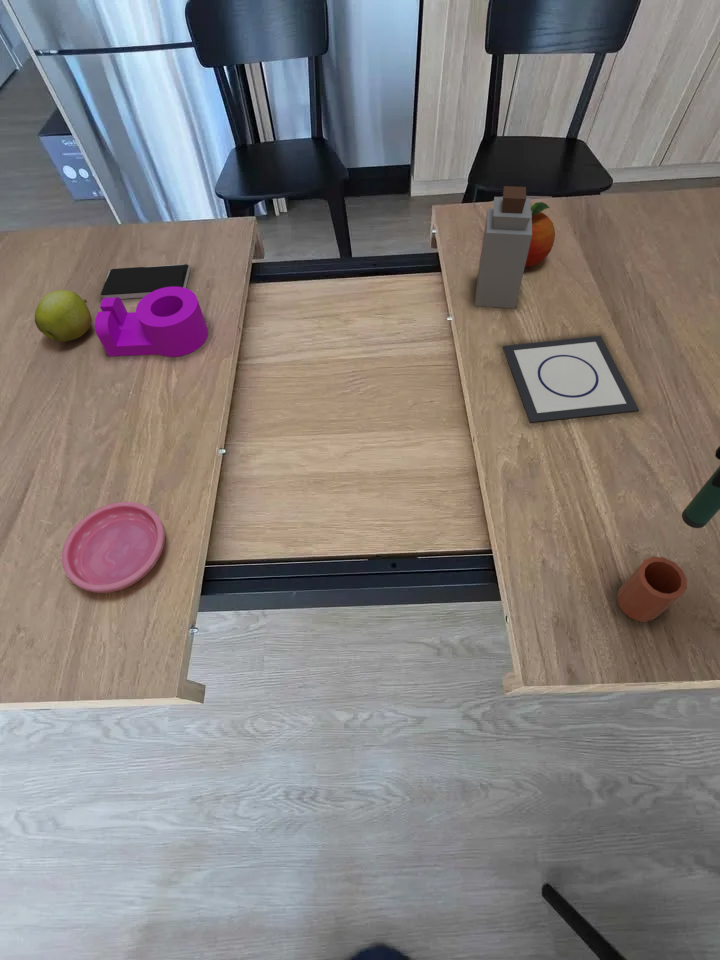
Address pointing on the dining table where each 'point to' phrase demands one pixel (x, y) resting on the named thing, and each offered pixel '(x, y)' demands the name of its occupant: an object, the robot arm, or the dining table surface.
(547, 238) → the fruit
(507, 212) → the perfume bottle
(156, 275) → the smartphone
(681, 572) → the pen pot
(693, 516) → the marker
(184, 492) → the dining table surface
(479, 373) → the dining table surface
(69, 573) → the saucer
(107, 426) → the dining table surface
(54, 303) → the apple
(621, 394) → the target board
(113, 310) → the tape dispenser
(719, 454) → the robot arm
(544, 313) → the dining table surface
